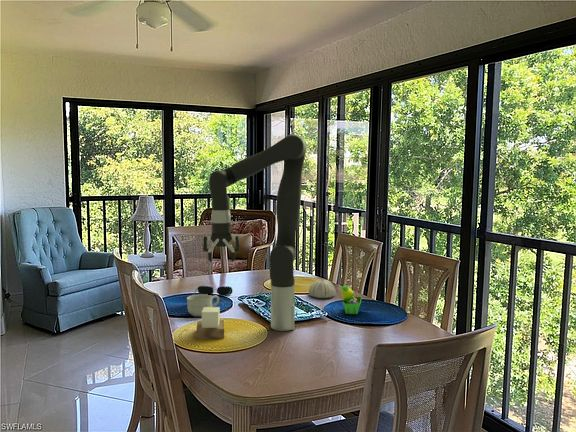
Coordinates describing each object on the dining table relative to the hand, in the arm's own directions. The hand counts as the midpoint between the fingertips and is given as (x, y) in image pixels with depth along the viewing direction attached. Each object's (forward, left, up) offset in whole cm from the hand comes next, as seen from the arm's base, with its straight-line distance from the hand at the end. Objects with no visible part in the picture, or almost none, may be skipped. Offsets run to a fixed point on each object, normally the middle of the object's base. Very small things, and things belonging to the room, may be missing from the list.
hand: (221, 261), depth 187 cm
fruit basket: (-54, -18, -26) cm, 63 cm away
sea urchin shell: (-43, -42, -26) cm, 65 cm away
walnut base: (+3, +12, -26) cm, 29 cm away
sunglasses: (+10, -35, -26) cm, 45 cm away
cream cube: (+3, +12, -22) cm, 25 cm away
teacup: (+10, -12, -26) cm, 30 cm away
